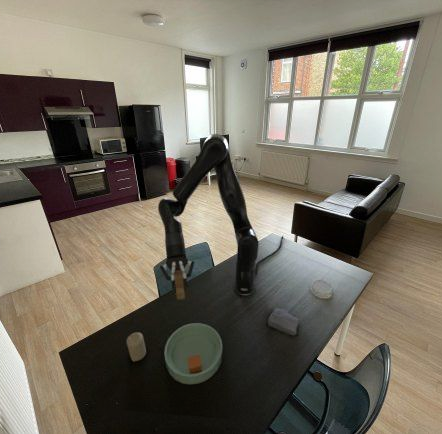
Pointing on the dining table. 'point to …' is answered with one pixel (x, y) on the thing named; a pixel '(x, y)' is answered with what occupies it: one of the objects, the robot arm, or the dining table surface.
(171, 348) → the bowl
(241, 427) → the dining table surface
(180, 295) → the stirrer
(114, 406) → the dining table surface
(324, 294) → the coaster
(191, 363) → the block
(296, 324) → the stone block
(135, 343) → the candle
